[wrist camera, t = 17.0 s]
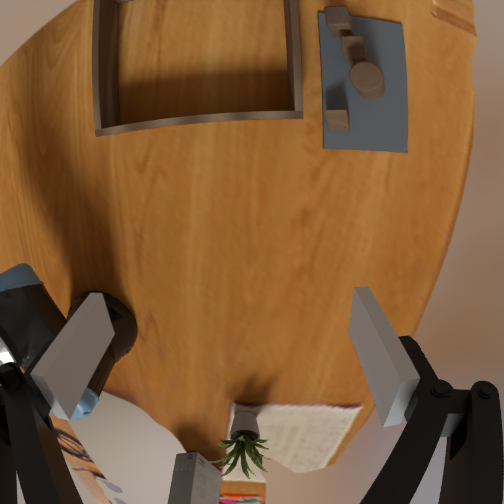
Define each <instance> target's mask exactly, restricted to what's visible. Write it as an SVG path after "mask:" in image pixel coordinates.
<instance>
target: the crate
mask: <svg viewBox="0 0 504 504" xmlns="http://www.w3.org/2000/svg"><path fill="white" fill-rule="evenodd" d="M128 1H132V0H94V11H93V31H92V86H93V108H94V123H95V135H96V137H99V136H105V135H111V134H118V133H124V132H130V131H137V130H143V129H151V128H158V127H166V126H175V125H184V124H195V123H206V122H220V121H236V120H260V119H303V92H302V68H301V49H300V32H299V18H298V5H297V0H284V13H285V29H286V46H287V66H288V89H289V111H256V112H233V113H218V114H205V115H194V116H184V117H175V118H167V119H159V120H151V121H144V122H138V123H132V124H125V125H120V110H119V91H118V7H119V4H121V3H125V2H128Z"/></svg>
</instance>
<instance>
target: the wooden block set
mask: <svg viewBox="0 0 504 504" xmlns="http://www.w3.org/2000/svg"><path fill="white" fill-rule="evenodd" d="M324 10H325V18H326V24H327V26H328V27H329V29H330V30H331V32H332V33H333V35H334V36H335V37H341V46H342V51H343V56H344V58H345V60H346V61H347V63H348V64H349V65H353V66H352V67H351V69H350V71H349V79H350V81H351V83H352V84H353V86H354V87H355V88H356V90H357V91H358V92H359V94H360V95H361V96H363V97H364V98H366V99H371V100H372V99H377V98H380V97H381V96H382V95H383V93H384V92H385V82H384V75H383V71H382V70H381V69H380V67H378V66H377V65H376V64H374V63H372V62H368V58H367V49H366V45H365V42H364V38H363V36H354V31H353V23H352V19H351V16H350V14H349V11H348V9H347V7H346V6H331V7H325V8H324ZM324 111H325V115H326V119H327V123H328V126H329V130H330V131H350V122H349V111H347V110H324Z"/></svg>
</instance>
